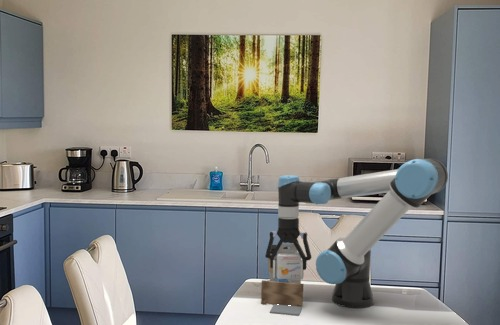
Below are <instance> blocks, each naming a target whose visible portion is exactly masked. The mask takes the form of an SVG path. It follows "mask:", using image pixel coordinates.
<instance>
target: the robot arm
mask: <svg viewBox="0 0 500 325" xmlns="http://www.w3.org/2000/svg"><path fill="white" fill-rule="evenodd" d="M448 180H449V173H448V169H447V168H446V166H445V165H444V163H442V161H440V160H438V159H435V158H430V157H429V158H415V159H411V160H408V161H406V162H404V163H403V164H402V165H400V167H398V168H397V169H392V170H390V169H389V170H383V171H378V172H371V173H364V174H358V175H357V174H356V175H352V176H347V177H346V176H345V177H339V178H331V179H330V178H329V179H326V180H319V181H318V180H317V181H300V177H299V176H298V175H293V174H292V175H291V174H289V175H288V174H285V175H280V176H279V177H278V186H277V189H278V206H277V208H278V209H277V212H278V213H277V215H278V219H277V222H278V224H277V226H278V227H277V231H274V230H271V231H270V232H269V241H268V244H267V248H266V250H265V251H266V252H265V258H266V259H268V258H269V259H270V267H271V268H273V278H275V277H276V259H274V257H275V255H276V253H277V252H278V250H279V248H280V246H281V245H282V244H283V243H284V244H294V245H295V247H296V249H297V252H298V253H299V254H300V256H301V275H300V279H301V280H303V279H304V277H305V276H304V275H305V274H304V273H305V272H304V271H306V270H307V262H308V261H310V260H312V254H311V253H312V252H311V250H310V249H311V248H310V245H309V242H308V233H307V232H301V231H300V229H299V227H300V225H299V224H300V223H299V222H300V220H299V216H300V214H299V213H300V210H299V209H300V207H299V206H300V203H306V204H315V205H326V204H328V203H329V201H331V200H332V201H333V200H339V199H346V198H347V199H348V198H355V197H361V196H363V197H364V196H370V195H377V194H384V195H383V197H382V198H381V199H380V200H379V201H377V203H376V204H375V205H374V206H373V207H372V209H370V210H369V211H368V213H367V214H366V215H365V216H364V217H363V218H362V219H361V220H360V221H359V222H358V224H357V225H355V227H354V228H353V229H352V230H350V232H349V233H348V234H347V235H346V237H339V238H336V240H335V241H334V243H332V244H331V246H330V247H329V248H328V249H326V250H323V251H321V252H320V253H319V254H318V256H317V257H316V259H315V269H316V273H317V275H318V276H319V278H320V279H321V280H322V281H323V282H325V283H326V284H329V285H334V288H333V290H332V292H331V301H332V302H333V303H334V304H335V305H338V306H341V307H346V308H354V309H355V308H356V309H357V308H358V309H359V308H360V309H361V308H368V307H371V306H373V305H374V298H375V296H374V294H373V290H372V286H371V283H370V282H371V281H370V277H371V276H370V273H371V253H372V250H371V249H372V248H373V247H374V246H375V245H377V243H378V242H379V241H380V240H381V239H382V238H383V237H384V236H385V235H386V234H387V233H388V232H389V231H390V230H391V229H392V228H393V227H394V226H395V225H396V223H397V222H398V221H399V220H400V219H401V218H403V217H404V215H406V214H407V212H408V211H410V209H418V208H420V207H421V206H422V205H423V203H424V202H425V201H426V200H427V199H428V198H429V197H430V196H431V195H434V194H436V193H439V192H441V191H442V190H443V189H444V188H445V187H446V185H447V183H448ZM277 236H278V238H279V241H278V243H277V244H276V245H277V246H276V248H275V250H274V252H273V253H272V255H270V252H271V249H272V245H274V240H275V238H276V237H277ZM299 236H300V238H301V239H302V242H303V246H304V251H305V253H304V251H303V249H302V246H301V245H300V242H299V240H298V238H299Z"/></svg>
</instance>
